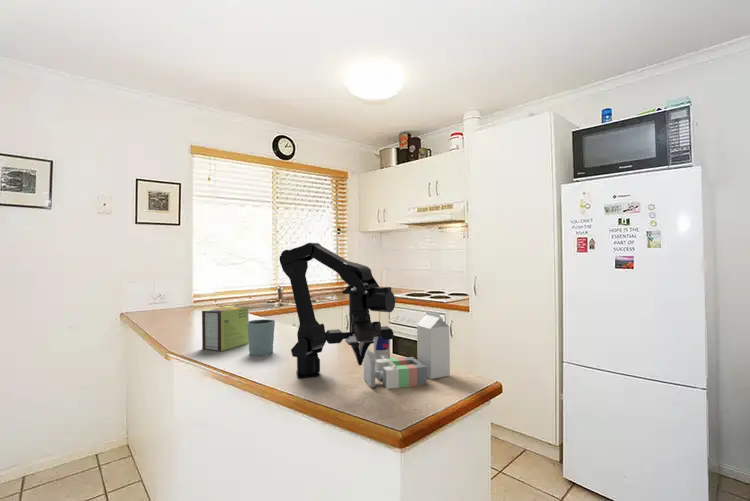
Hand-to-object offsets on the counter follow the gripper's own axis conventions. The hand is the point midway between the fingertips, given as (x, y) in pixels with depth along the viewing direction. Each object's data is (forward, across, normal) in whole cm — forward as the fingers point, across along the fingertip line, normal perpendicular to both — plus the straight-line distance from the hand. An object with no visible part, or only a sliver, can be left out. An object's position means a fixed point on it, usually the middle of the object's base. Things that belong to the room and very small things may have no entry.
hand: (359, 365), depth 110 cm
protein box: (+6, -42, +62) cm, 75 cm away
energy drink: (+6, +12, +17) cm, 21 cm away
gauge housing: (+6, +12, 0) cm, 13 cm away
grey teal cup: (+6, -28, +46) cm, 54 cm away
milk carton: (+6, +24, +2) cm, 24 cm away
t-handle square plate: (+5, +7, 0) cm, 9 cm away
